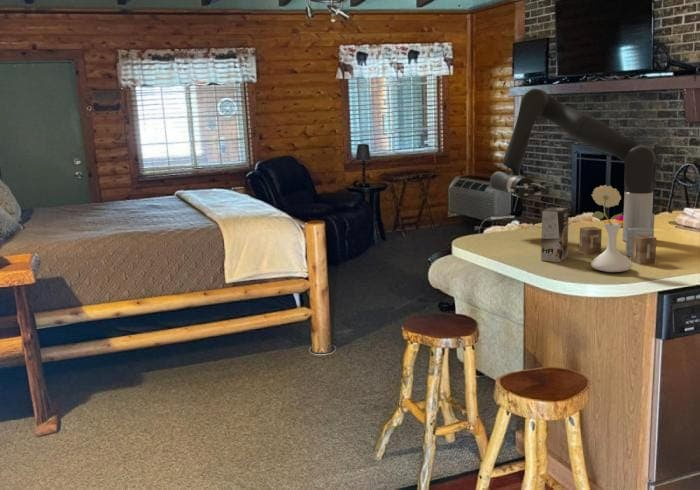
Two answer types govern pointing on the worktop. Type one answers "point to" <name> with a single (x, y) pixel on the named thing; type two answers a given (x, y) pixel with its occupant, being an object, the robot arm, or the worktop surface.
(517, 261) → the worktop surface
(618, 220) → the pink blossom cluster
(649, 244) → the walnut block one
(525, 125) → the robot arm
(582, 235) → the walnut block seven
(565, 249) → the coffee box
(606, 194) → the flower in vase
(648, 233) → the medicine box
